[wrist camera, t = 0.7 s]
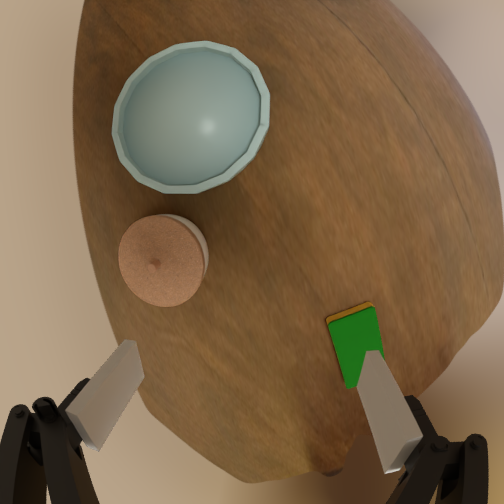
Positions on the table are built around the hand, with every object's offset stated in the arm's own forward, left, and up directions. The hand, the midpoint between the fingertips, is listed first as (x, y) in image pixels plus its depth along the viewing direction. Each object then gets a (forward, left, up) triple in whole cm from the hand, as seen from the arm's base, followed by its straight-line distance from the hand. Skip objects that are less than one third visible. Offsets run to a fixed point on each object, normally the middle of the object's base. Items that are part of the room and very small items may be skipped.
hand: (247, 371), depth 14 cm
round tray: (-19, -10, -23) cm, 31 cm away
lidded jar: (-1, -11, -23) cm, 26 cm away
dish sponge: (+13, +16, -24) cm, 31 cm away
